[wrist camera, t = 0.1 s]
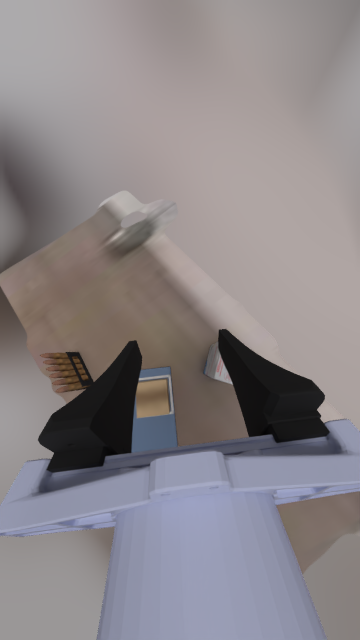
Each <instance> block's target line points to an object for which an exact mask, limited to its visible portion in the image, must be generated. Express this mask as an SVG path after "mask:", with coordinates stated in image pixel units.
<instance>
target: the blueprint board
mask: <svg viewBox="0 0 360 640" xmlns="http://www.w3.org/2000/svg"><path fill="white" fill-rule="evenodd" d="M166 378H167V379H168V390H169V402H170V413H169V414H166V415H158V416H150V417H141V418H137V409H136V397H135V406H134V418H133V432H132V453H135V452H142V451H150V450H157V449H165V448H173V447H178V445H177V435H176V424H175V413H174V402H173V392H172V381H171V370H170V367H163V368H154V369H146V370H141V372H140V377H139V381H138V382H141V381H149V380H157V379H166Z"/></svg>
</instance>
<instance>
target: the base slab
mask: <svg viewBox="0 0 360 640" xmlns="http://www.w3.org/2000/svg"><path fill="white" fill-rule="evenodd" d="M136 409H137V418H141V417H150V416H158V415H166V414H169V413H170V402H169V390H168V379H167V378H166V379H157V380H149V381H141V382H138V386H137V391H136Z"/></svg>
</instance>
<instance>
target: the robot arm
mask: <svg viewBox="0 0 360 640" xmlns="http://www.w3.org/2000/svg"><path fill="white" fill-rule="evenodd" d="M218 349H219V352H220V355H221V358H222V361H223V363H224V365H225V367H226V370H227V372H228V374H229V376H230V378H231V381H232V383H233V386H234V389H235V392H236V395H237V398H238V401H239V404H240V407H241V411H242V414H243V417H244V421H245V424H246V428H247V432H248V435H249V437H248V438H240V439H233V440H225V441H218V442H210V443H203V444H195V445H188V446H180V447H173V448H165V449H157V450H150V451H142V452H135V453H132V432H133V418H134V406H135V397H136V391H137V386H138V381H139V377H140V372H141V365H142V355H141V353H140V350H139V347H138V344H137V341H129V342H128V344H127V345H126V346H125V348H124V349H123V350H122V352H121V353H120V354H119V356H118V357H117V358H116V359H115V361H114V362H113V363H112V364H111V365H110V367H109V368H108V369H107V370H106V371H105V372H104V373H103V374H102V375H101V376H100V377H99V378H98V379H97V380H96V381H95V382H94V383H93V384H92V385H90V386H89V387H88V388H87V389H86V390H85V391H83V392H82V393H81V394H80V395H78V396H77V397H76V398H75V399H73V400H72V401H71V402H69V403H68V404H66V405H65V406H63V407H62V408H61V409H59V410H58V411H56V412H55V413H53V414H52V415H51V417H50V419H49V420H48V422H47V424H46V426H45V427H44V429H43V431H42V432H41V434H40V436H39V438H38V441H39V443H40V444H41V445H42V446H44V447H46V448H47V449H49V450H51V451H52V452H54V455H53V457H52V459H39V460H31V461H27V462H25V463H24V465H23V467H22V469H21V470H20V472H19V474H18V476H17V478H16V479H15V481H14V483H13V484H12V486H11V488H10V489H9V491H8V493H7V495H6V496H5V498H4V500H3V502H2V503H1V505H0V536H15V537H24V536H32V535H40V534H48V533H57V532H66V531H76V530H87V529H96V528H106V527H115V531H114V538H113V543H112V550H111V555H110V561H109V568H108V574H107V580H106V586H105V592H104V599H103V604H102V610H101V616H100V622H99V628H98V634H97V640H327V637H326V635H325V633H324V630H323V627H322V624H321V622H320V619H319V617H318V614H317V611H316V609H315V606H314V604H313V601H312V598H311V596H310V593H309V590H308V588H307V585H306V583H305V580H304V577H303V575H302V572H301V570H300V567H299V564H298V562H297V559H296V557H295V554H294V551H293V549H292V546H291V543H290V541H289V538H288V536H287V533H286V530H285V528H284V525H283V523H282V520H281V517H280V515H279V512H278V510H277V507H276V505H279V504H285V503H290V502H296V501H302V500H308V499H313V498H319V497H325V496H331V495H337V494H343V493H350V492H357V491H360V431H359V430H358V429H357V428H356V427H355V426H354V425H353V423H352V422H351V421H350V420H349V419H340V420H333V421H328V422H325V423H323V422H322V421H321V419H320V418H321V415H320V413H319V412H318V411H317V409H318V408H319V406H320V405H321V404H322V403H323V401H324V399H325V395H324V393H323V392H322V391H321V390H320V389H319V388H318V387H317V385H315V383H314V382H313V381H312V380H310V379H307V378H305V377H302V376H299V375H297V374H294V373H292V372H290V371H288V370H285V369H283V368H281V367H279V366H277V365H275V364H273V363H271V362H270V361H268V360H266V359H264V358H263V357H261V356H260V355H258V354H256V353H255V352H253V351H252V350H251V349H249V348H248V347H247V346H245V345H244V344H243V343H242V342H240V341H239V340H238V339H237V338H236V337H234V336H233V335H232V334H231V333H230V332H229V331H228V330H226V329H222V330H219V337H218Z"/></svg>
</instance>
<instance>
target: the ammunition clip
mask: <svg viewBox="0 0 360 640" xmlns="http://www.w3.org/2000/svg"><path fill="white" fill-rule="evenodd" d="M40 356H41V357H44V358H51V359H52V360H46V361H44V362H43V363H45V364H48V365H59V366H52V367H48V368H47V369H46V370H48V371H60V372H59V373H54V374H51V375H50V376H49V377H51V378H65V379H61V380H57V381H55V382H53V383H52V384H53V385H68V384H70V385H68V386H64V387H61V388H59V389H57V390H56V392H57V393H62V392H68V391H74V390H81V389H86V388H88V387H89V386H90V385H92V384H93V383H94V382H93V380H92V378H91V376H90V374H89V372H88V370H87V368H86V366H85V364H84V362H83V360H82V358H81V356H80V354H79V352H66V353H45V354H41V355H40Z"/></svg>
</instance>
